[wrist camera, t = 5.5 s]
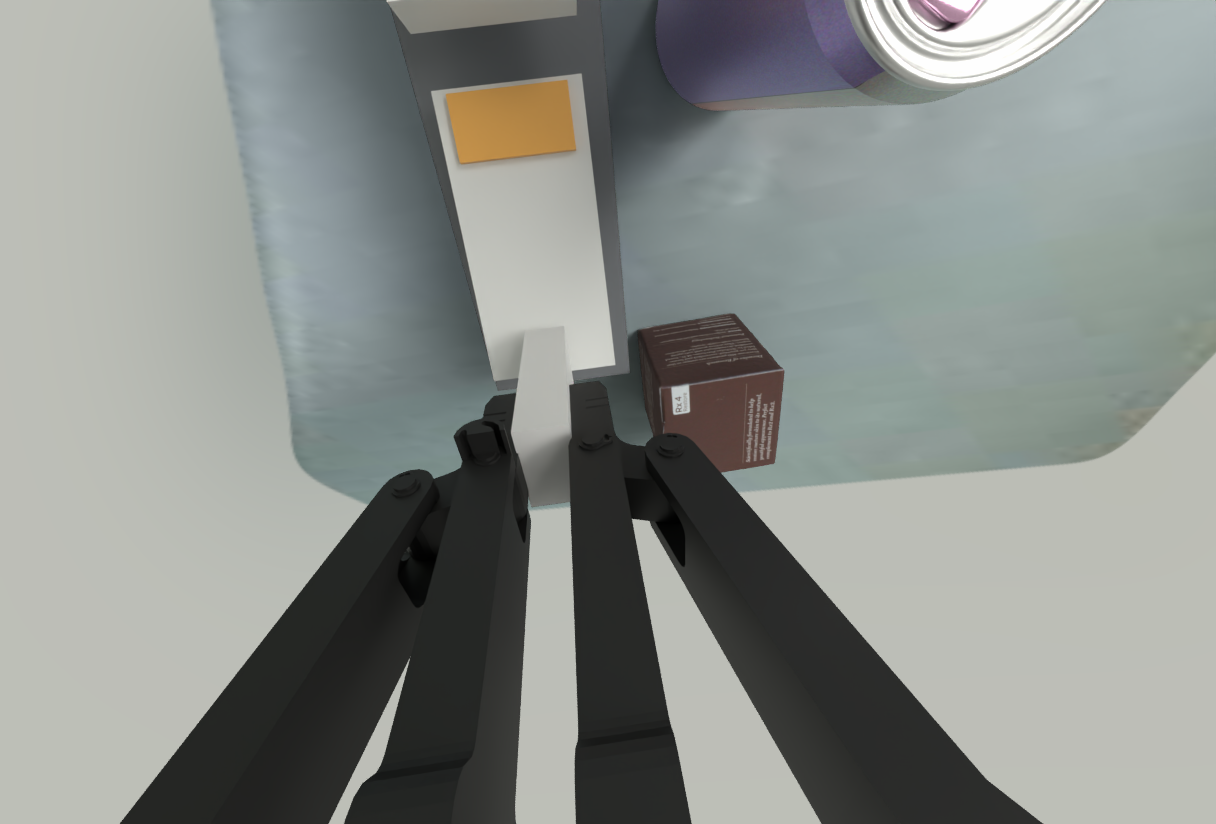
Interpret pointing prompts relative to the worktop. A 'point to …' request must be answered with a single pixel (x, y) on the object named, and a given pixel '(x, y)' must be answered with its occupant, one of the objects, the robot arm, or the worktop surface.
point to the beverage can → (852, 48)
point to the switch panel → (517, 58)
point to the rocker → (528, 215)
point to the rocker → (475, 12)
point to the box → (713, 389)
